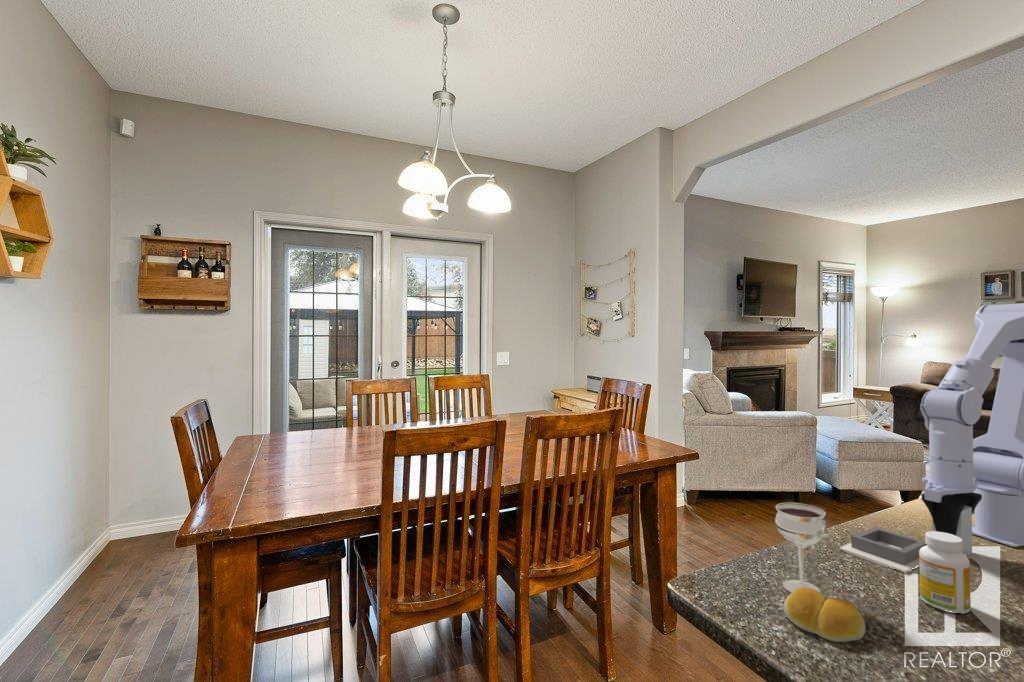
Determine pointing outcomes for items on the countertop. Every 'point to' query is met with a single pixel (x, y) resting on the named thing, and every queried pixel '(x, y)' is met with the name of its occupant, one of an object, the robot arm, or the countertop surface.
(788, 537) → the wineglass
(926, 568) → the supplement bottle
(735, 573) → the countertop surface
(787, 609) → the bread roll
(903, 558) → the dock
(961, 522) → the block
